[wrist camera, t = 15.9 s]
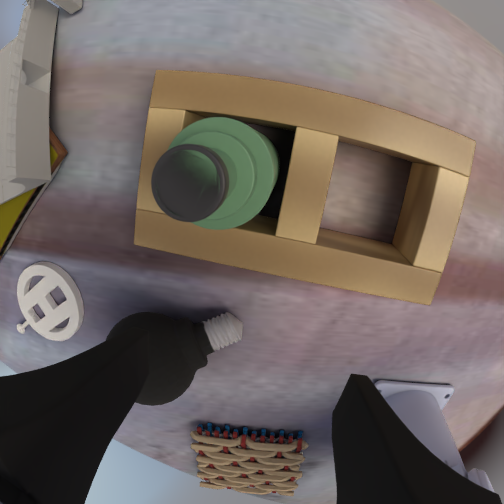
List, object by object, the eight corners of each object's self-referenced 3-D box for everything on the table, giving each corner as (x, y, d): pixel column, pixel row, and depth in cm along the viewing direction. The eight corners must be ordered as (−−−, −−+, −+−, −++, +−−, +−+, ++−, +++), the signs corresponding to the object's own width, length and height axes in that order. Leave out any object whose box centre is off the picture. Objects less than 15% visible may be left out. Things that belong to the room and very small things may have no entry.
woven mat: (296, 499, 26) (297, 484, 28) (310, 446, 22) (310, 429, 24) (199, 489, 27) (203, 475, 29) (186, 434, 24) (192, 418, 26)
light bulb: (270, 380, 18) (121, 432, 16) (253, 351, 24) (138, 394, 23) (228, 281, 18) (73, 342, 16) (221, 275, 24) (103, 322, 22)
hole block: (408, 278, 19) (430, 306, 16) (160, 226, 20) (133, 244, 16) (444, 140, 16) (476, 141, 12) (181, 83, 17) (155, 69, 13)
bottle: (272, 208, 19) (251, 274, 9) (201, 194, 19) (113, 243, 9) (286, 135, 18) (281, 117, 8) (213, 123, 18) (127, 99, 8)
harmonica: (-27, 246, 21) (-14, 238, 23) (-11, 271, 22) (2, 262, 23) (36, 124, 16) (53, 122, 18) (58, 154, 17) (74, 151, 19)
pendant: (45, 247, 21) (51, 244, 22) (-3, 299, 24) (2, 296, 25) (94, 323, 23) (99, 318, 23) (36, 357, 25) (41, 353, 26)
